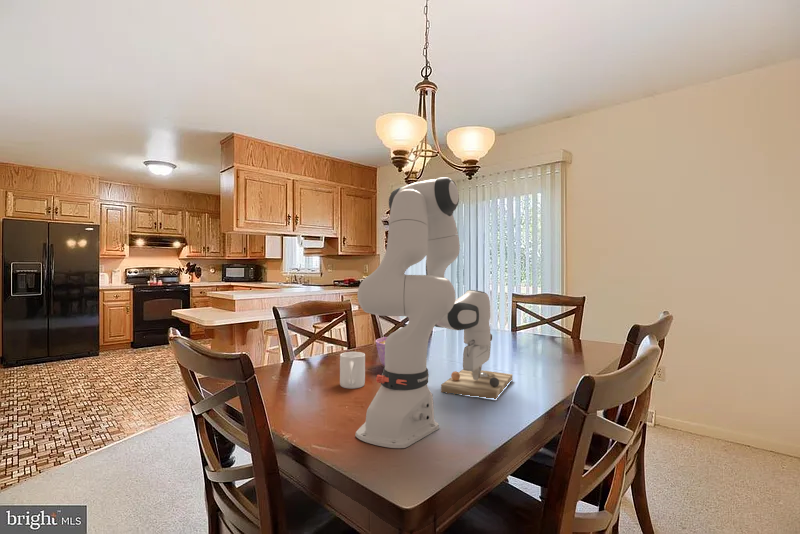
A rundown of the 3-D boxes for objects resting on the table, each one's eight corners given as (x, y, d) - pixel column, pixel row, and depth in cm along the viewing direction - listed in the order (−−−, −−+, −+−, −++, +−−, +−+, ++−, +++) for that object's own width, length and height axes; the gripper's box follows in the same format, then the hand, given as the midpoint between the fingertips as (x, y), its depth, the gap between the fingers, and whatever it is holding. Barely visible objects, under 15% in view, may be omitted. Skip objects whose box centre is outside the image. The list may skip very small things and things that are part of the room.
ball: (486, 384, 140) (486, 375, 139) (477, 383, 142) (476, 374, 141) (489, 380, 143) (489, 371, 142) (479, 378, 145) (479, 369, 144)
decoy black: (497, 388, 126) (497, 379, 126) (488, 387, 127) (488, 378, 127) (500, 386, 129) (500, 377, 129) (490, 384, 130) (491, 375, 130)
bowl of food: (426, 364, 168) (426, 336, 167) (424, 377, 148) (424, 346, 148) (379, 362, 169) (379, 335, 169) (371, 375, 150) (371, 344, 150)
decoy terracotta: (458, 382, 133) (458, 373, 133) (449, 380, 135) (449, 371, 135) (461, 379, 136) (461, 371, 136) (452, 378, 137) (453, 369, 137)
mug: (337, 392, 129) (337, 359, 129) (341, 381, 141) (341, 351, 141) (363, 392, 130) (363, 359, 130) (365, 381, 142) (365, 351, 142)
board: (495, 401, 122) (495, 393, 122) (441, 392, 130) (441, 384, 130) (512, 381, 143) (512, 374, 143) (464, 374, 151) (464, 368, 151)
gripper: (477, 343, 124) (476, 388, 124) (493, 334, 142) (493, 373, 142) (457, 341, 127) (457, 385, 127) (476, 333, 145) (476, 371, 145)
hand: (476, 378), depth 134 cm, fingers closed
